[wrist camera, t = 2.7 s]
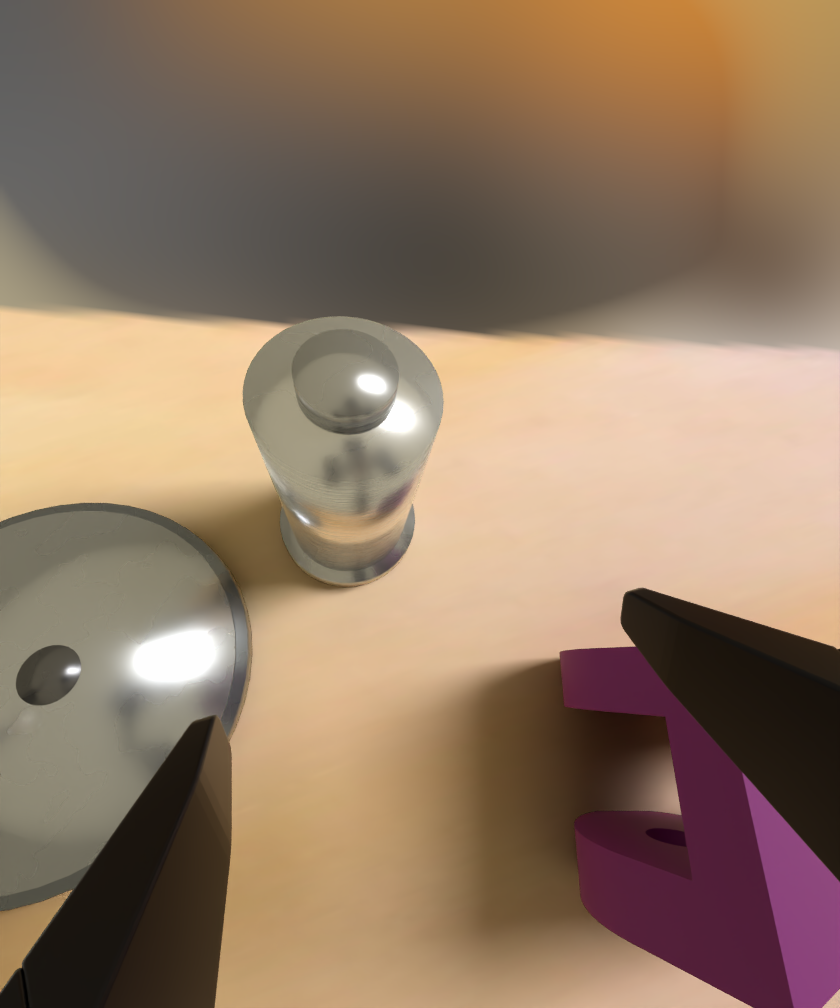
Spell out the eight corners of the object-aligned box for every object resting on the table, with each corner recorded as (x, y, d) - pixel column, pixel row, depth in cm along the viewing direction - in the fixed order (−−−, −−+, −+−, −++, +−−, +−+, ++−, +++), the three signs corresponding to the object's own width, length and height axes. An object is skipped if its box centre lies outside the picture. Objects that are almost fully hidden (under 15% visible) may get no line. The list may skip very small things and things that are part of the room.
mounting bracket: (703, 668, 30) (525, 649, 21) (867, 668, 24) (713, 641, 14) (736, 830, 26) (539, 894, 17) (941, 884, 20) (798, 1032, 11)
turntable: (-234, 945, 15) (-282, 967, 14) (-89, 518, 21) (-115, 509, 20) (246, 855, 18) (239, 867, 17) (256, 502, 23) (251, 493, 22)
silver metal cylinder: (282, 592, 22) (200, 492, 10) (283, 468, 25) (217, 271, 13) (419, 580, 23) (489, 480, 11) (405, 464, 26) (451, 282, 14)
